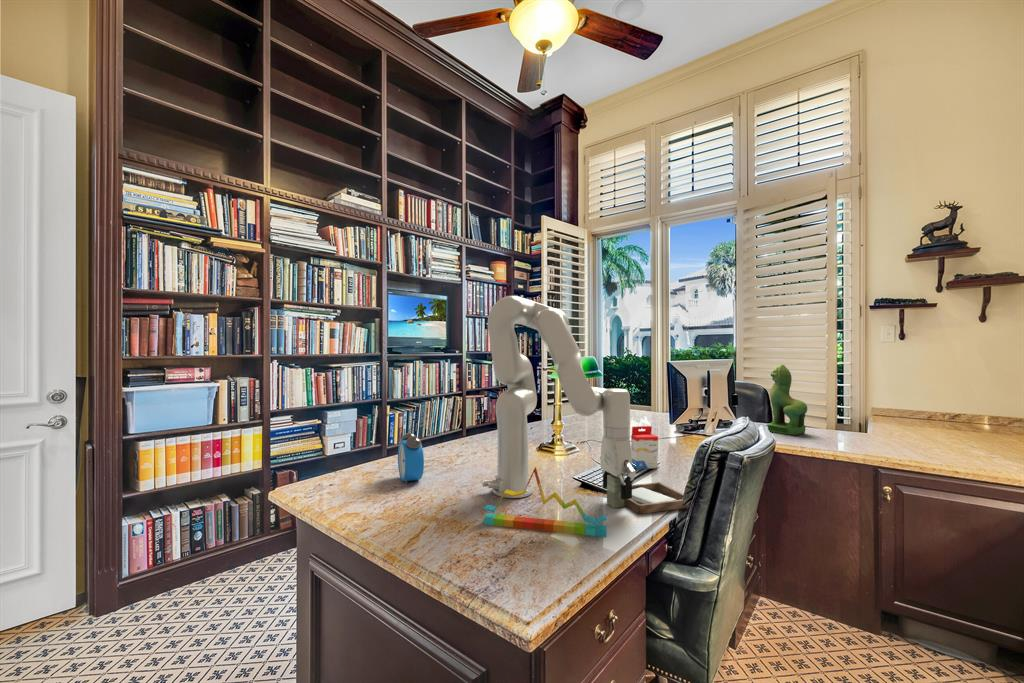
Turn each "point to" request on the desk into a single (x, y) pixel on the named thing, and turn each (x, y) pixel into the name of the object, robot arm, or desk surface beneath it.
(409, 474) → the alarm clock
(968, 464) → the desk surface
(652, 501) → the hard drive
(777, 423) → the lion statue
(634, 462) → the ink box
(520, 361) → the robot arm
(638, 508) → the sliding frame
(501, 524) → the chart
